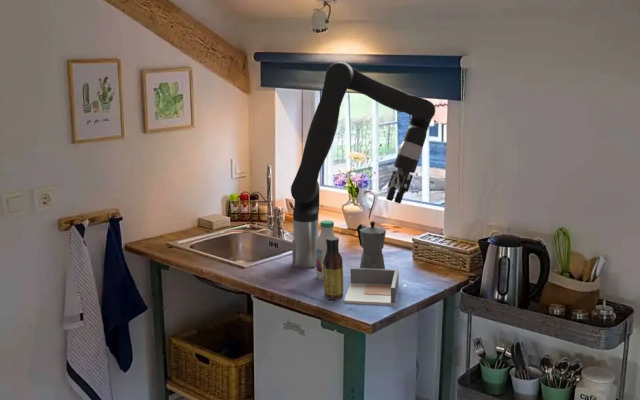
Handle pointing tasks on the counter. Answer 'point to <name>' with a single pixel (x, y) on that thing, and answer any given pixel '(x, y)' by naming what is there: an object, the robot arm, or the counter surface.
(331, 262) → the sauce bottle
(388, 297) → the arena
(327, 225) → the milk bottle
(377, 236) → the coffeepot
